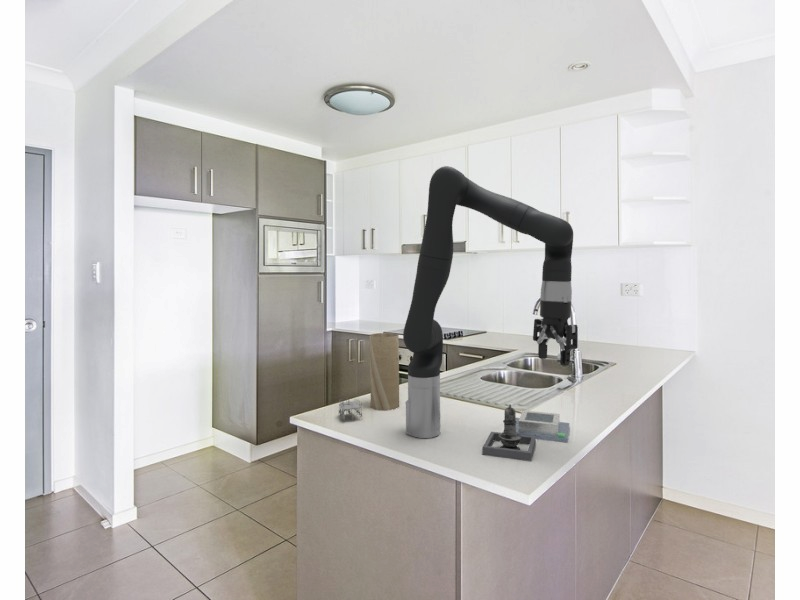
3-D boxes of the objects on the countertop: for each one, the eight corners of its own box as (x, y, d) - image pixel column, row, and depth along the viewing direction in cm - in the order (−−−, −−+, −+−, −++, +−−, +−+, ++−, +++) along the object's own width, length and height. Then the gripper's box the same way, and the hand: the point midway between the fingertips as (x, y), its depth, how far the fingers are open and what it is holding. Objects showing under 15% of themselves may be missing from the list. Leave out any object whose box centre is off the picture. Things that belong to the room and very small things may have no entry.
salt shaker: (517, 444, 126) (518, 400, 125) (524, 453, 120) (524, 407, 119) (496, 445, 126) (496, 401, 125) (501, 453, 120) (501, 407, 119)
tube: (381, 412, 156) (380, 337, 154) (365, 405, 164) (364, 334, 163) (405, 406, 162) (404, 335, 160) (388, 400, 170) (387, 332, 168)
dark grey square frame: (482, 454, 119) (482, 446, 119) (491, 438, 131) (491, 431, 130) (531, 461, 115) (531, 453, 115) (535, 443, 126) (535, 436, 126)
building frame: (343, 423, 145) (342, 404, 145) (337, 416, 153) (336, 398, 152) (362, 421, 148) (362, 402, 147) (355, 413, 155) (355, 396, 155)
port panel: (507, 435, 133) (508, 421, 133) (514, 420, 146) (514, 407, 146) (567, 442, 127) (567, 428, 127) (569, 426, 140) (569, 413, 140)
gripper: (526, 297, 124) (524, 357, 126) (562, 301, 111) (560, 368, 112) (549, 296, 127) (547, 355, 128) (587, 301, 114) (585, 366, 115)
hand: (553, 361), depth 120 cm, fingers open, 8 cm apart
